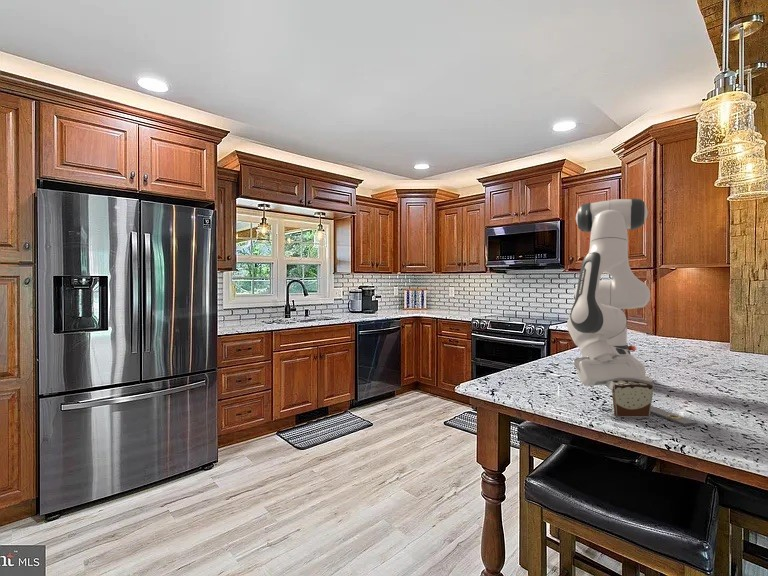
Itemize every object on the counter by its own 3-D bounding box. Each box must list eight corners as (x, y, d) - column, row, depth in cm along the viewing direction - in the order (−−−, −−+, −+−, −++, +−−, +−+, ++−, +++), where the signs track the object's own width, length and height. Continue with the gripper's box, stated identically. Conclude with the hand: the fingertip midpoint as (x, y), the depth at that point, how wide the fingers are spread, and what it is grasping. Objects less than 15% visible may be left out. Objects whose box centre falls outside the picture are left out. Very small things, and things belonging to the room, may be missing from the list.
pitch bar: (636, 402, 130) (636, 391, 130) (697, 424, 110) (697, 411, 110) (624, 403, 129) (625, 392, 129) (684, 425, 109) (684, 412, 109)
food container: (641, 409, 122) (642, 377, 122) (654, 417, 116) (655, 383, 115) (600, 409, 122) (601, 377, 122) (611, 417, 116) (612, 383, 116)
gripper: (575, 352, 125) (598, 392, 116) (631, 349, 130) (657, 388, 120) (566, 363, 130) (587, 402, 120) (619, 360, 134) (644, 398, 125)
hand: (622, 395), depth 120 cm, fingers closed, pressing on food container
